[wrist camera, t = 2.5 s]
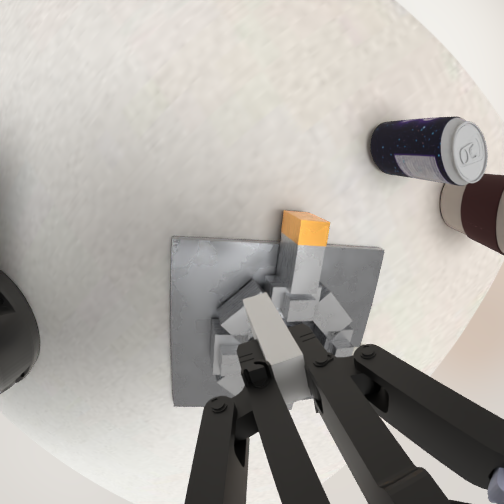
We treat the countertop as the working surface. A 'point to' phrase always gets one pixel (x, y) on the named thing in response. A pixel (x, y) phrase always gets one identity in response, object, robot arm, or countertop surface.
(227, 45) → the countertop surface
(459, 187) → the coffee cup
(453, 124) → the beverage can
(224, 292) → the flange plate
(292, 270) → the segmented block ring
